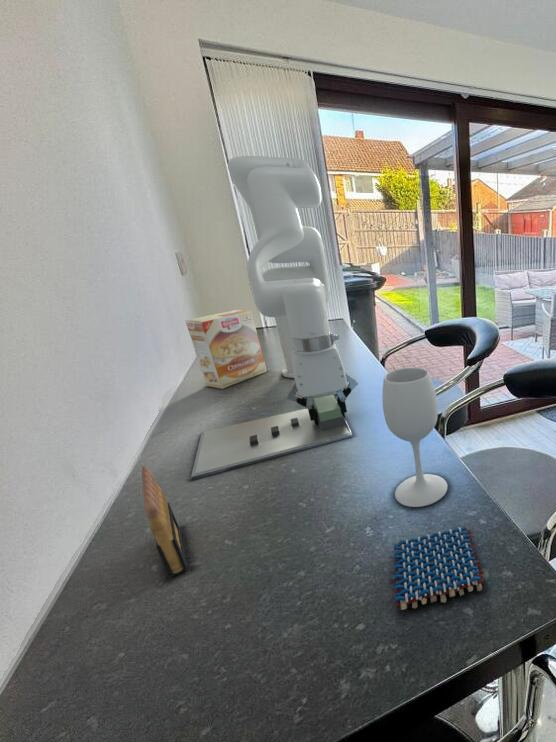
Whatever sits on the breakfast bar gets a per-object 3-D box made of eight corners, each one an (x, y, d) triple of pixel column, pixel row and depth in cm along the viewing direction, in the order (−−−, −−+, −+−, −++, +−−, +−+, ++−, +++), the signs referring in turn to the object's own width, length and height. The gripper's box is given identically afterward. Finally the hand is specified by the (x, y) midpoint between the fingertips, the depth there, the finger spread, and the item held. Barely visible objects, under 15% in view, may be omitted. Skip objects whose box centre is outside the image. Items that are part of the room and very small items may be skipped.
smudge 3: (250, 439, 83) (249, 436, 83) (258, 437, 84) (257, 434, 84) (250, 445, 81) (249, 442, 81) (258, 443, 82) (257, 440, 81)
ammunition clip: (187, 570, 53) (156, 496, 48) (170, 578, 51) (136, 503, 47) (179, 528, 60) (151, 461, 56) (164, 535, 59) (134, 466, 54)
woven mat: (486, 592, 48) (486, 579, 47) (397, 616, 46) (394, 604, 45) (469, 532, 58) (468, 521, 57) (394, 550, 55) (392, 538, 54)
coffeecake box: (222, 389, 112) (201, 321, 105) (205, 386, 115) (183, 320, 108) (268, 371, 125) (252, 310, 118) (252, 369, 128) (235, 309, 121)
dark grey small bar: (291, 422, 90) (290, 419, 90) (298, 420, 91) (297, 417, 91) (292, 427, 88) (291, 423, 88) (299, 425, 89) (298, 422, 88)
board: (202, 434, 88) (201, 431, 87) (336, 403, 101) (335, 401, 101) (192, 480, 72) (190, 476, 71) (352, 436, 85) (352, 433, 85)
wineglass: (422, 514, 61) (406, 390, 54) (384, 496, 66) (363, 379, 58) (458, 484, 68) (447, 370, 60) (420, 470, 73) (406, 361, 65)
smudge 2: (271, 430, 87) (270, 427, 87) (278, 428, 87) (278, 425, 87) (272, 435, 85) (271, 432, 84) (279, 434, 85) (278, 430, 85)
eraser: (315, 413, 94) (311, 398, 93) (337, 408, 96) (334, 393, 95) (321, 430, 86) (317, 414, 85) (345, 424, 88) (342, 408, 87)
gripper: (351, 332, 92) (363, 404, 98) (267, 345, 83) (287, 422, 90) (358, 340, 86) (371, 415, 92) (268, 354, 77) (289, 436, 84)
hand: (329, 418), depth 91 cm, fingers closed on eraser, 5 cm apart
